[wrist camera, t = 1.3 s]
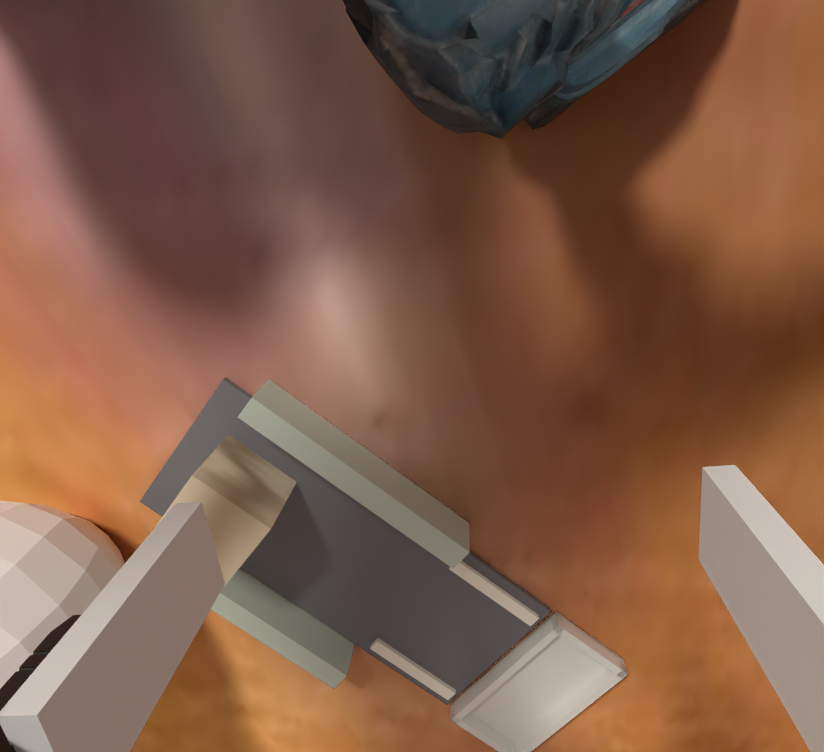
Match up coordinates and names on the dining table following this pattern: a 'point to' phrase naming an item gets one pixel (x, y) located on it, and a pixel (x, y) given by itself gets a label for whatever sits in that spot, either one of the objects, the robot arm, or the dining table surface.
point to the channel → (363, 482)
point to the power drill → (506, 52)
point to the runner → (363, 567)
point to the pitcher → (46, 575)
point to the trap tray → (538, 687)
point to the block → (237, 500)
